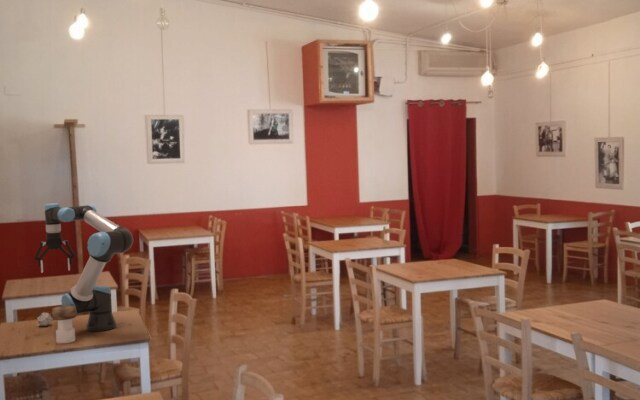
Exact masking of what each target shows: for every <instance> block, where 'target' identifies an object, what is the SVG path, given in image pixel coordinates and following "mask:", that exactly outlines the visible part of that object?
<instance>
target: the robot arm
mask: <svg viewBox="0 0 640 400" xmlns="http://www.w3.org/2000/svg"><path fill="white" fill-rule="evenodd" d="M44 218H45V232H46V233H45V237H46V241H41V242H40V244H39V248H38V250H37V252H36V254H35V256H34V260H36V261H38V267H40V274H41V273H42V274H43V272H44V263H43V258H44V257H45V255H46V254H47V253H48V251H49V250H51V251H53V250H59V251H61V252H62V253H64V254H65V255H66V256H67V269H68V271H71V265H72V263H73V258H75V256H76V255H75V253H74V251H73V249H72V248H71V246H70V245H69V240H67V239H66V240H62V232H61V231H62V226H61V222H63V223H69V222H73V221H74V222H75V221H83V222H85V223H86V224H88V225H89V226H91V227H93V228H94V229H95V230H97V231H99V232H95V233H93V234H92V235H90V236H89V238H88V240H87V252H88V254H89V258H88V260H87V262H86V264H85V266H84V268H83V270H82V272H81V275H80V276H79V278H78V280H77V283H76V284H75V285H73V286H72V287H71V288H70V290H69V292H67V293H64V294H63V295H62V296H61V306H75V307H76V316H77V315H81V314H84V313H89V316H88V319H87V323H86V331H88V332H103V331H104V330H105V331H110V330H113V329H115V328H116V327H117V323H116V320H115V316H114V314H113V308H112V307H113V305H112V290H111V288H110V286H108V285H97V282H98V281H99V278H100V276H101V275H102V273H103V270H104V268H105V266H106V264H107V263H109V262H111V260H112V259H113V257H114V255H118V254H122V253H126V252H127V251H129V250H130V249H131V248H132V246H133V244H134V237H133V233H132V232H131V230H129V229H128V228H127V227H125V226H122V225H118V224H116V223H115V222H113V221H111V220H110V219H108V218H107V217H105V216H103V215H102V214H100V213H99V212H97V209H96V207H95V206H94V205H90V204H89V205H79V206H64V207H60V204H59V203H54V202H53V203H46V204H45V205H44ZM63 244H64V245H65V246H66V248H67V250H66V249H65V248H64V247H63V246H62V245H63ZM45 245H46V249H45V250H44V251H43V253H42V254H41V251H42V250H43V247H44V246H45ZM68 251H69V252H68ZM40 254H41V255H40ZM39 255H40V256H39ZM112 328H113V329H112ZM109 329H110V330H109Z"/></svg>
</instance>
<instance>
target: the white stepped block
mask: <svg viewBox="0 0 640 400" xmlns="http://www.w3.org/2000/svg"><path fill="white" fill-rule="evenodd" d="M75 330H76V329H75V327H73V318H72V319H67V320H57V329H55V338H56V340H55V341H56V344H69V343H73V342H76V331H75Z"/></svg>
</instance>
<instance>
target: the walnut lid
mask: <svg viewBox="0 0 640 400" xmlns="http://www.w3.org/2000/svg"><path fill="white" fill-rule="evenodd" d="M51 311H52V313H51V314H52V321H58V320H67V319H72V320H73V319H74V318H76V317H77V315H76V307H75V306H62V305H59V306H56V307H53V308H52V309H51Z"/></svg>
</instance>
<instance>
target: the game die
mask: <svg viewBox="0 0 640 400" xmlns="http://www.w3.org/2000/svg"><path fill="white" fill-rule="evenodd" d="M50 313H51V311H49V312H44V311H41V313H40V314H39V315H38V316H37V317H35V319H36V320H37V322H38V324H39V327H41V326H45V327H46V328H48V326H49V325H50V323H51V322H52V321H53V317H52V316H51V314H50Z"/></svg>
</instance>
